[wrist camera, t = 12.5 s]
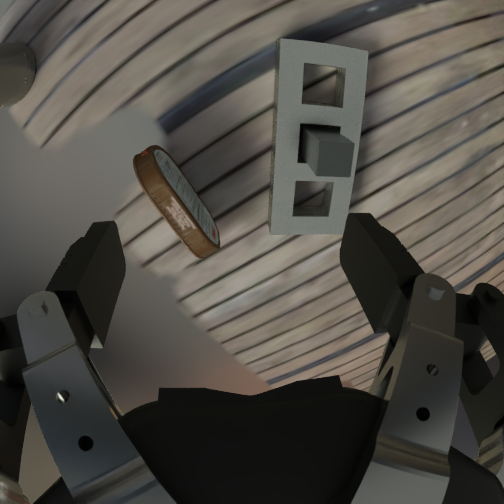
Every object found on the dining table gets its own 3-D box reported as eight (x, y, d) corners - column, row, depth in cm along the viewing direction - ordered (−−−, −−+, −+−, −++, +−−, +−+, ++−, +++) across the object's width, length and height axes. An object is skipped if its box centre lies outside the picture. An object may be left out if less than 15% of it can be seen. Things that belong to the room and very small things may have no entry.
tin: (141, 147, 34) (120, 170, 27) (162, 134, 34) (144, 152, 27) (205, 236, 42) (201, 274, 35) (225, 226, 42) (225, 263, 35)
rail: (267, 223, 42) (270, 234, 39) (276, 40, 28) (280, 38, 26) (337, 223, 42) (343, 234, 40) (358, 51, 29) (368, 51, 26)
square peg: (297, 151, 36) (316, 176, 29) (299, 123, 34) (319, 140, 27) (325, 152, 36) (350, 177, 29) (327, 125, 34) (354, 143, 27)
